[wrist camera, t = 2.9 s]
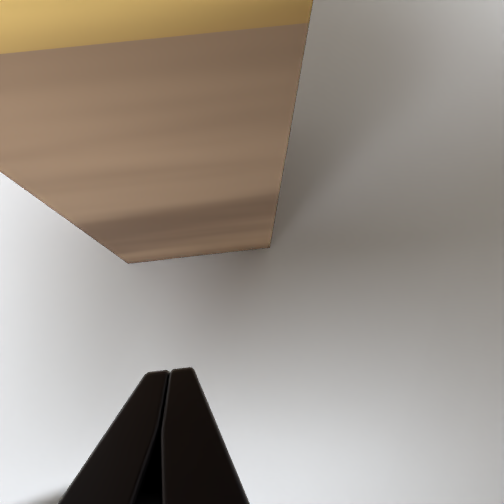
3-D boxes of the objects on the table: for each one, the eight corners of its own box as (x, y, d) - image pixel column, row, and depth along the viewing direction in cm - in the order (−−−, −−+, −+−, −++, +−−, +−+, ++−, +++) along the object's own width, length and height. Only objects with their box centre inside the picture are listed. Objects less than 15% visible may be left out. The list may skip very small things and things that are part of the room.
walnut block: (269, 247, 16) (319, -37, 4) (128, 263, 16) (-217, 15, 4) (253, 119, 17) (257, -389, 5) (120, 133, 17) (-173, -356, 5)
